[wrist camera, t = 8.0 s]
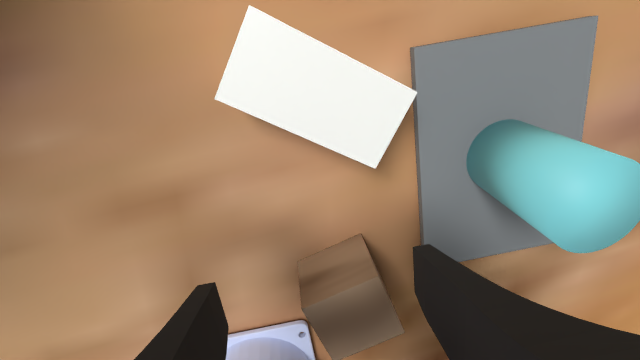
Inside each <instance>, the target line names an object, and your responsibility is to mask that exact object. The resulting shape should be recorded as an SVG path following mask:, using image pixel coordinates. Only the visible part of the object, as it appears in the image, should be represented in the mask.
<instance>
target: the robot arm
mask: <svg viewBox="0 0 640 360" xmlns="http://www.w3.org/2000/svg"><path fill="white" fill-rule="evenodd" d="M413 261H414V286H415V294H416V296H417V299H418V301H419V304H420V306H421V308H422V311H423V313H424V315H425V317H426V319H427V321H428V323H429V325H430V326H431V328H432V330H433V332H434V333H435V335H436V337H437V339H438V340H439V342H440V344H441V346H442V347H443V349H444V351H445V352H446V354H447V356H448V358H449V359H450V360H640V335H637V334H633V333H629V332H625V331H620V330H616V329H612V328H609V327H605V326H602V325H598V324H595V323H592V322H588V321H585V320H582V319H579V318H576V317H573V316H570V315H567V314H564V313H561V312H558V311H556V310H553V309H550V308H548V307H545V306H542V305H540V304H537V303H535V302H533V301H530V300H528V299H526V298H524V297H521V296H519V295H517V294H515V293H512V292H510V291H508V290H506V289H504V288H502V287H500V286H498V285H497V284H495V283H493V282H491V281H489V280H487V279H485V278H484V277H482V276H480V275H478V274H477V273H475V272H473V271H471V270H470V269H468V268H467V267H465V266H463V265H462V264H460V263H458V262H457V261H455V260H454V259H452V258H451V257H449V256H447V255H446V254H444V253H443V252H441V251H440V250H438V249H437V248H435V247H433V246H432V245H430V244H426V245H421V246H415V247H413ZM300 332H304V333H300ZM134 360H315V355H314V351H313V346H312V342H311V337H310V333H309V329H308V324H307V322H305V321H303V320H298V321H293V322H288V323H283V324H279V325H274V326H269V327H264V328H259V329H254V330H249V331H244V332H239V333H234V334H230V335H228V323H227V320H226V317H225V313H224V310H223V307H222V304H221V300H220V297H219V294H218V290H217V287H216V284H215V282H214V283H208V284H203V285H198V286H197V287H196V288H195V289H194V290H193V292H192V293H191V294H190V295H189V297H188V298H187V299H186V300H185V302H184V303H183V304H182V305H181V307H180V308H179V309H178V310H177V312H176V313H175V314H174V315H173V316H172V318H171V319H170V320H169V321H168V323H167V324H166V325H165V326H164V327H163V329H162V330H161V331H160V332H159V333H158V334H157V335H156V336H155V337H154V338H153V340H152V341H151V342H150V343H149V344H148V345H147V346H146V347H145V348H144V350H143V351H142V352H141V353H140V354H139V355H138V356H137V357H136V358H135V359H134Z"/></svg>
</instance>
